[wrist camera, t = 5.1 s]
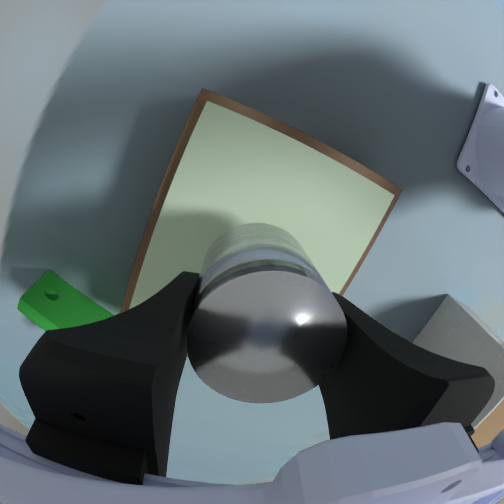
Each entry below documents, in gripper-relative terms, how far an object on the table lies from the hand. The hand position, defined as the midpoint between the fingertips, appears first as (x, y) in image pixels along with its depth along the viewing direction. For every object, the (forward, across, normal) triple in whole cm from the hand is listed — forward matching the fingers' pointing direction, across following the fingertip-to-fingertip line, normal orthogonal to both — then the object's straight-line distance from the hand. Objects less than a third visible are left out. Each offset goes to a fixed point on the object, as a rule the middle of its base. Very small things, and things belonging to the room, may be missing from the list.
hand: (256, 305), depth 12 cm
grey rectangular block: (+9, -18, +6) cm, 21 cm away
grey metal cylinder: (+2, 0, 0) cm, 2 cm away
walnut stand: (+8, 0, 0) cm, 8 cm away
